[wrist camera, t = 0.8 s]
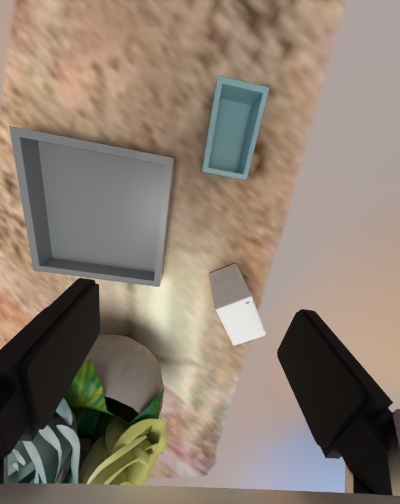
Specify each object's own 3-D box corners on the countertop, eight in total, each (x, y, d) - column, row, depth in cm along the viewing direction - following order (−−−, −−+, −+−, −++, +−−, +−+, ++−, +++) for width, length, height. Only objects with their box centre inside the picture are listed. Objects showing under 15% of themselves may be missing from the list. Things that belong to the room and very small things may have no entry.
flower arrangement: (70, 381, 46) (-47, 579, 24) (57, 296, 37) (-157, 486, 14) (172, 388, 48) (154, 575, 26) (184, 308, 39) (170, 492, 17)
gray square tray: (34, 132, 27) (9, 125, 23) (176, 159, 29) (173, 157, 25) (50, 260, 34) (33, 270, 30) (162, 275, 36) (159, 286, 32)
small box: (208, 272, 36) (213, 308, 26) (236, 262, 36) (252, 295, 26) (222, 304, 39) (232, 347, 29) (248, 295, 38) (267, 336, 29)
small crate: (213, 93, 26) (218, 75, 21) (256, 102, 26) (269, 87, 22) (201, 172, 29) (202, 171, 25) (238, 179, 30) (246, 180, 25)
